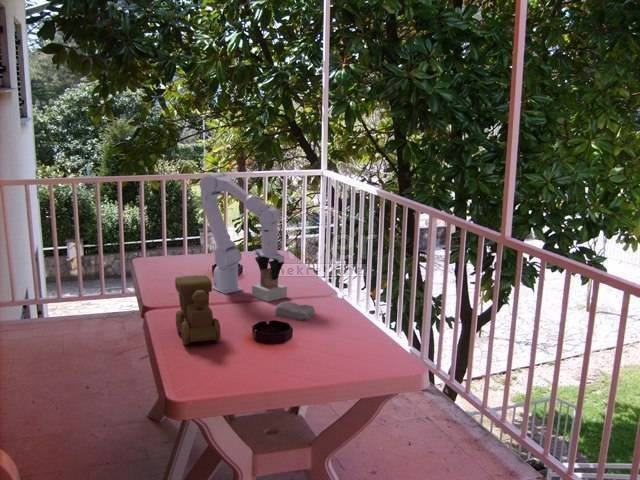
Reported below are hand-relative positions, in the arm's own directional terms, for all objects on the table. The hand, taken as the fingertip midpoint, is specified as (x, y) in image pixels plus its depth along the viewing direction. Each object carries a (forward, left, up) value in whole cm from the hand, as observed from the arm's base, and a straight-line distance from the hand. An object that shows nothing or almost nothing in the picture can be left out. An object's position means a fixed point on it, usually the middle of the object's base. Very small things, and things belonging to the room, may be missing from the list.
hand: (269, 277), depth 241 cm
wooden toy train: (+18, -42, -8) cm, 46 cm away
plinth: (0, 0, -7) cm, 7 cm away
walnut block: (0, 0, -3) cm, 3 cm away
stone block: (+21, -5, -8) cm, 23 cm away
